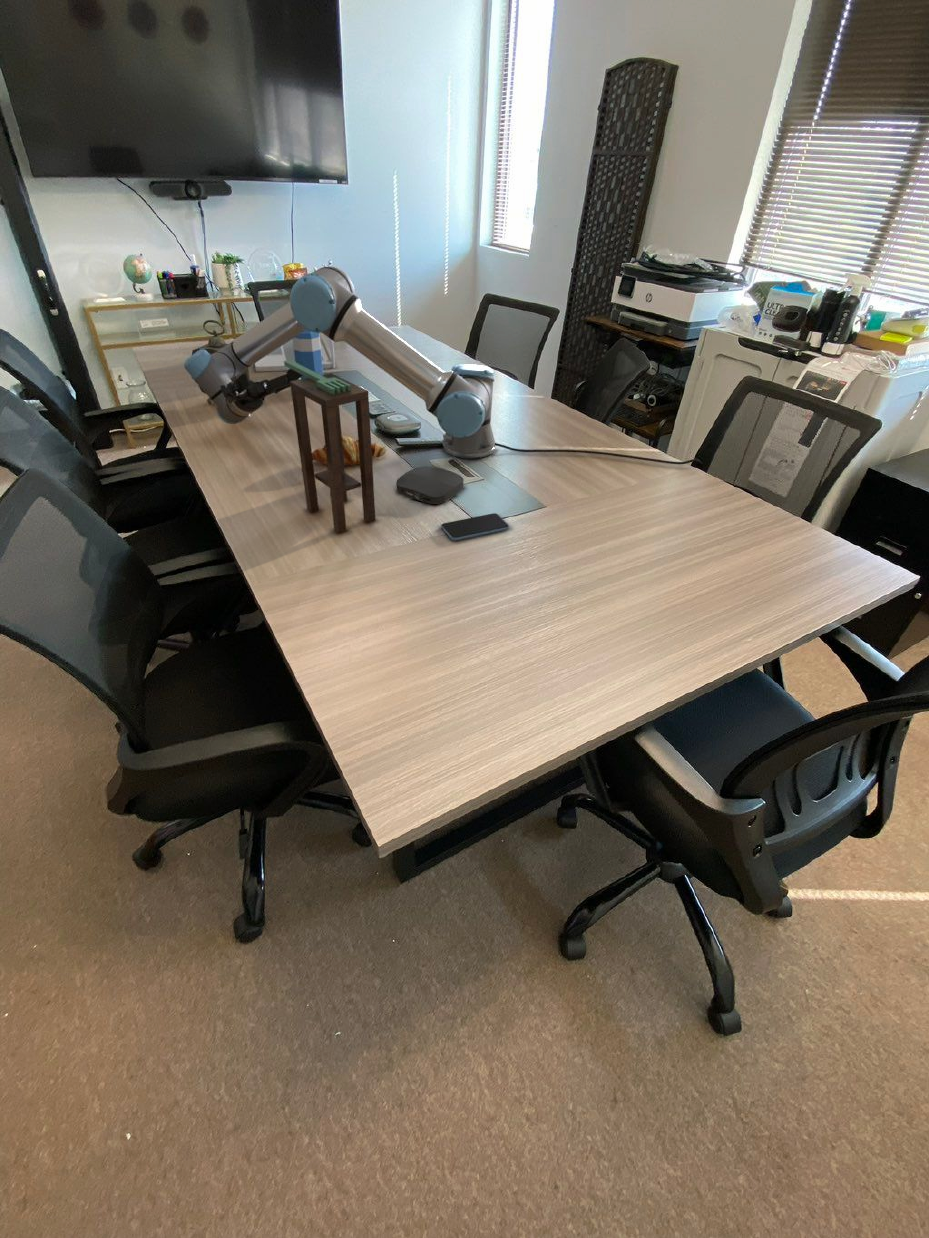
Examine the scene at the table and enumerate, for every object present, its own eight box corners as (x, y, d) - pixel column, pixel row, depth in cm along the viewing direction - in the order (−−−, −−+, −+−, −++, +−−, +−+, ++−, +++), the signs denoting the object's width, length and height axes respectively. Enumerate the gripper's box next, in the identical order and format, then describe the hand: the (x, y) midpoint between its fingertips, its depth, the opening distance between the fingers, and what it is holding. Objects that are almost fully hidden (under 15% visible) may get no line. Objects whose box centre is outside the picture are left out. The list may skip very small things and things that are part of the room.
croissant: (383, 463, 173) (379, 434, 171) (392, 460, 164) (388, 430, 162) (309, 470, 166) (304, 441, 165) (313, 468, 157) (308, 436, 155)
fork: (278, 366, 132) (277, 361, 131) (296, 363, 134) (295, 357, 133) (332, 395, 119) (331, 388, 119) (351, 390, 122) (350, 384, 121)
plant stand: (307, 509, 144) (289, 381, 125) (343, 498, 149) (331, 373, 130) (339, 534, 136) (325, 400, 117) (375, 520, 141) (368, 391, 122)
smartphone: (511, 526, 140) (453, 538, 134) (510, 529, 140) (452, 542, 135) (496, 511, 145) (439, 523, 139) (495, 514, 145) (439, 526, 140)
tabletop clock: (201, 405, 193) (182, 320, 177) (217, 396, 200) (199, 314, 184) (242, 411, 191) (226, 325, 175) (257, 401, 198) (242, 319, 182)
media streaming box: (469, 486, 157) (469, 475, 155) (438, 508, 147) (439, 497, 145) (422, 471, 162) (422, 461, 160) (390, 492, 152) (389, 481, 150)
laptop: (252, 342, 251) (240, 266, 233) (323, 340, 258) (316, 266, 241) (256, 371, 221) (242, 288, 204) (335, 368, 228) (328, 287, 211)
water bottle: (319, 396, 204) (311, 316, 188) (293, 393, 205) (283, 313, 189) (330, 388, 211) (322, 309, 195) (304, 385, 212) (295, 307, 197)
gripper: (294, 403, 165) (325, 381, 148) (205, 422, 151) (228, 401, 134) (284, 375, 163) (314, 350, 146) (192, 392, 150) (215, 367, 132)
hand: (273, 374), depth 140 cm, fingers open, 13 cm apart
